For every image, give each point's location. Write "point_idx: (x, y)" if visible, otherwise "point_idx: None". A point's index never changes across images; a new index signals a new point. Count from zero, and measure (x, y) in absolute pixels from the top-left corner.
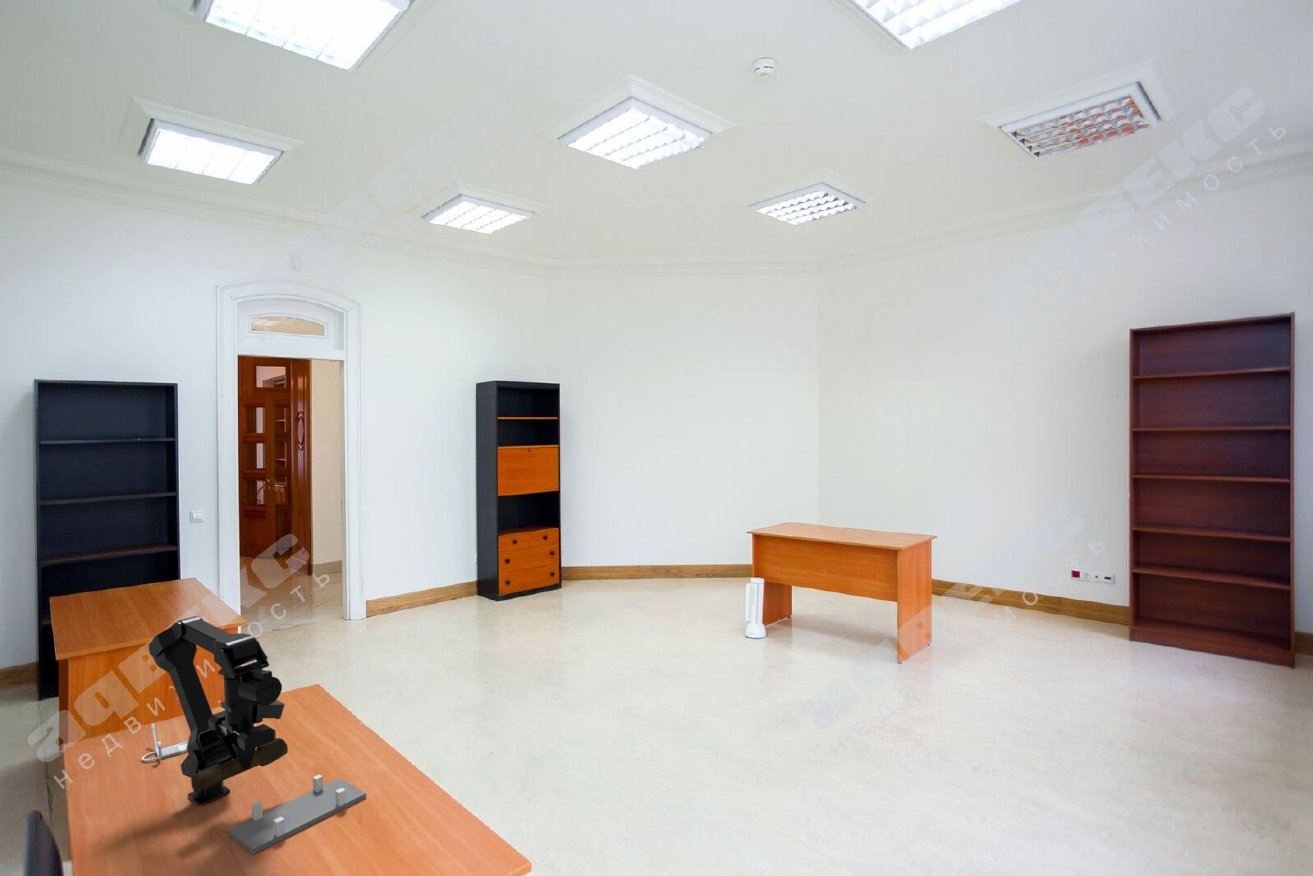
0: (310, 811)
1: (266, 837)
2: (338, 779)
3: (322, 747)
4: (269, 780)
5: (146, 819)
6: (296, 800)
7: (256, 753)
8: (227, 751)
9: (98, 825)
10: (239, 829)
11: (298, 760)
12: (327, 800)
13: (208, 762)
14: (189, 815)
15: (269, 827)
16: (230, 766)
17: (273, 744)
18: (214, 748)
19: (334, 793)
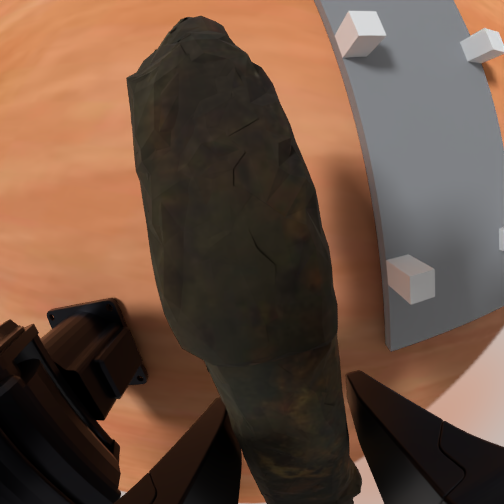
0: (468, 126)
1: (496, 268)
2: None
3: (35, 19)
4: (105, 169)
5: (150, 451)
6: (380, 127)
7: (325, 366)
8: (46, 412)
9: (131, 484)
10: (417, 324)
11: (47, 75)
12: (438, 61)
13: (112, 471)
14: (188, 402)
15: (469, 251)
16: (349, 484)
17: (298, 155)
18: (64, 487)
19: (408, 28)
